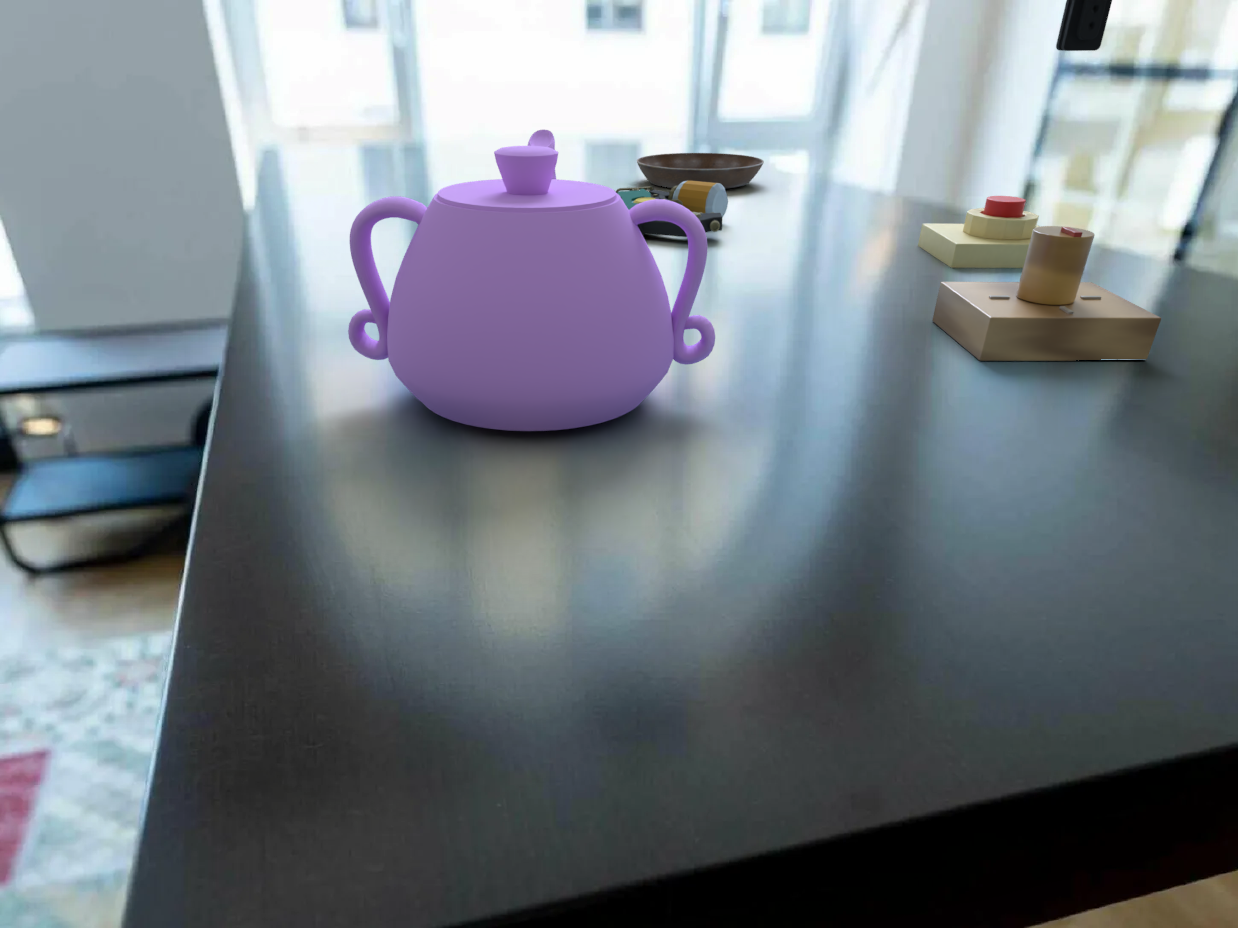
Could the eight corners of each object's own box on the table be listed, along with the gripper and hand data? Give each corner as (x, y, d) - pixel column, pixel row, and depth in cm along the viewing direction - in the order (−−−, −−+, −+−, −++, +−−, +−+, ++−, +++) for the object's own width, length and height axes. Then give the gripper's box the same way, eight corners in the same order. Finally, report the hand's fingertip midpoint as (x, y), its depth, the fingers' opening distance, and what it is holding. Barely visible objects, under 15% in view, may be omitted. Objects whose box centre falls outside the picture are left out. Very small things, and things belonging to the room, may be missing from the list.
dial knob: (1006, 291, 68) (1024, 221, 65) (1058, 290, 68) (1078, 221, 65) (1030, 305, 64) (1050, 232, 62) (1085, 305, 65) (1107, 232, 62)
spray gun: (714, 254, 94) (577, 249, 97) (742, 215, 106) (620, 212, 110) (716, 210, 91) (574, 206, 95) (744, 175, 103) (619, 173, 107)
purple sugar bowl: (691, 337, 67) (706, 124, 59) (725, 454, 49) (753, 173, 42) (395, 334, 67) (371, 120, 59) (323, 450, 49) (274, 167, 41)
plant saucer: (611, 184, 126) (611, 159, 124) (677, 170, 138) (678, 147, 136) (722, 198, 118) (724, 172, 116) (782, 182, 130) (785, 158, 128)
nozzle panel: (1080, 321, 72) (1092, 279, 70) (1146, 361, 64) (1163, 315, 62) (931, 321, 72) (940, 279, 70) (979, 361, 63) (991, 315, 62)
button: (1012, 214, 91) (1017, 195, 90) (1027, 221, 88) (1032, 202, 87) (976, 214, 90) (981, 195, 89) (990, 221, 87) (995, 201, 86)
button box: (1029, 246, 95) (1040, 204, 93) (1073, 268, 87) (1087, 223, 85) (917, 245, 95) (925, 204, 93) (950, 268, 87) (961, 223, 84)
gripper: (1256, -263, 63) (1165, 52, 73) (1144, -216, 75) (1079, 47, 86) (1149, -262, 63) (1073, 53, 73) (1054, -216, 75) (1001, 48, 85)
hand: (1077, 49), depth 79 cm, fingers closed
